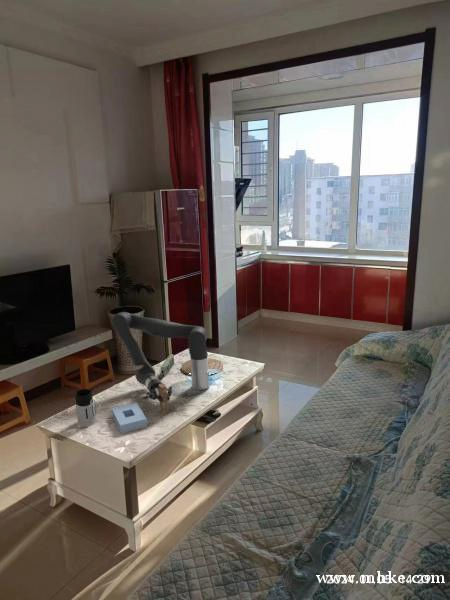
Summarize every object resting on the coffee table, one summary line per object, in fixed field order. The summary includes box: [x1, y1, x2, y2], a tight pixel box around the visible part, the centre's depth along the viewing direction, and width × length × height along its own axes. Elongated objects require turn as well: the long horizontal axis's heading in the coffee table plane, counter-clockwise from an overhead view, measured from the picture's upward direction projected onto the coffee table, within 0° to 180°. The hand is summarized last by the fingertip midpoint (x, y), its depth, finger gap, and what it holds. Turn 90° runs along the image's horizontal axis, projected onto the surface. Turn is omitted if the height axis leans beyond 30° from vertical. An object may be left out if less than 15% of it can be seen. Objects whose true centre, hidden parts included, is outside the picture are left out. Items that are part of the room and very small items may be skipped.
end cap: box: [111, 402, 148, 434], centre depth 202 cm, size 12×18×4 cm, turn 26°
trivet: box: [180, 357, 224, 375], centre depth 260 cm, size 25×25×2 cm
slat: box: [159, 382, 169, 416], centre depth 208 cm, size 2×4×14 cm, turn 26°
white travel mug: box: [74, 388, 98, 428], centre depth 199 cm, size 9×14×15 cm, turn 50°
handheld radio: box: [158, 354, 175, 381], centre depth 256 cm, size 7×3×25 cm
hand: (165, 399), depth 205 cm, fingers closed on slat, 2 cm apart
